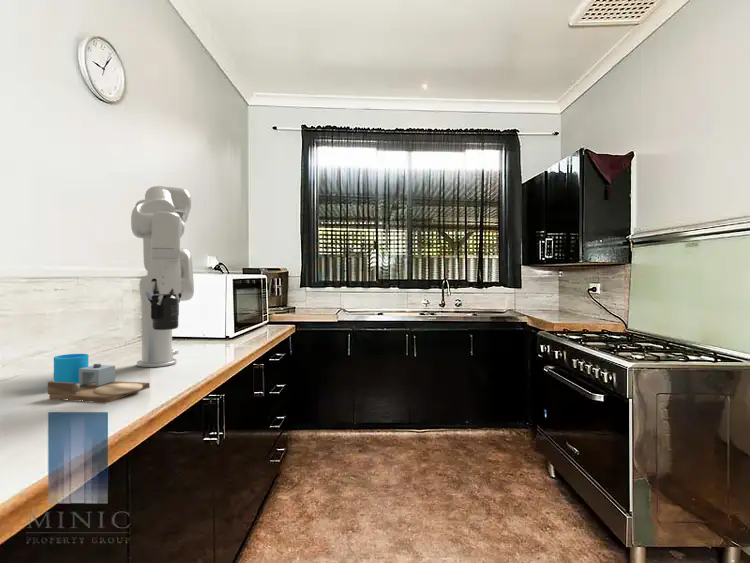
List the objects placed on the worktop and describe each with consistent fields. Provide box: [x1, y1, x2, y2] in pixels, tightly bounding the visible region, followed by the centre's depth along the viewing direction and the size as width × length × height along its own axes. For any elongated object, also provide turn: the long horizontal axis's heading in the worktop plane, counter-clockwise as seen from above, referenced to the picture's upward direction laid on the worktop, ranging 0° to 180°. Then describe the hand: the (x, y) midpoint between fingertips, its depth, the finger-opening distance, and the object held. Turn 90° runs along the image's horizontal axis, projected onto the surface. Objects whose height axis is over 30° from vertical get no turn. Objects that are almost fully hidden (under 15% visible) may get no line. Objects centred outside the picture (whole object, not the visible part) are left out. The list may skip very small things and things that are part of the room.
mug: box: [53, 353, 89, 384], centre depth 129 cm, size 12×8×8 cm
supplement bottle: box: [152, 288, 179, 330], centre depth 129 cm, size 7×7×12 cm
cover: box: [79, 363, 116, 386], centre depth 124 cm, size 6×6×5 cm
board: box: [47, 380, 151, 404], centre depth 119 cm, size 16×19×4 cm
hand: (165, 317), depth 129 cm, fingers closed on supplement bottle, 6 cm apart
